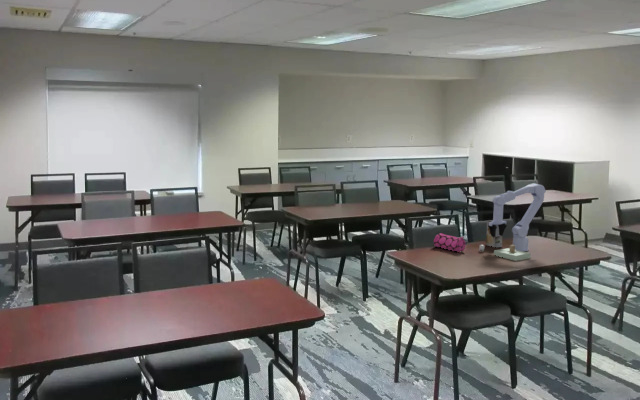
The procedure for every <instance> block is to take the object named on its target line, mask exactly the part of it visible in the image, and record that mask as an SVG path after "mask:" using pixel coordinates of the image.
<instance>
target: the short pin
mask: <svg viewBox="0 0 640 400" xmlns="http://www.w3.org/2000/svg"><path fill="white" fill-rule="evenodd" d="M485 247H486V244H479V249H478V251H484V252H485Z"/></svg>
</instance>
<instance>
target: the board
mask: <svg viewBox="0 0 640 400" xmlns="http://www.w3.org/2000/svg"><path fill="white" fill-rule="evenodd" d="M494 255H496V256H495V257H498V256H499V257H500V258H502V257H503V259H507V260H511V261H523V260H527V259H531V257H532V252H528V251H519V250H515V253H511V252H510V247H507V248H500V249H494V250H493V256H494ZM499 257H498V258H499Z"/></svg>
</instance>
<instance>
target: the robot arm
mask: <svg viewBox="0 0 640 400" xmlns="http://www.w3.org/2000/svg"><path fill="white" fill-rule="evenodd" d="M527 193H530V194H531V195H532V199H533V200H532V202H531V204H530V205H529V206H528V209H527V210H526V212H525V213H524V215H523V216H522V218H521V220H519V221H518V222H517V223H516V224H515V225H514V226H513V227H512V229H511V233H512V234H513V235H512V245H515V250H519V251H524V252H528V251H530V250H529V239H528V237H527V235H528V232H529V229H530V223H531V222H532V221H533V218H534V217H535V216H536V214H537V212H538V211H539V209H540V207H541V206H542V204H543V203H544V200H545V193H546V188H545V186H544V185H543V184H538V183H534V182H533V183H530V184H527V185H526V186H523V187H520V188H519V189H517V190H515V191H513V190H507V191H506V192H504V193H500V194H499V195H495V196H494V197H493V199H492V202H493V212H492V213H493V216H492V217H493V218H492V220H491V221H492V222H489V225H488V227H489V229H490V232H491V236H492V237H495V232H496V228H497V227H496V226H495V225H498V227H499V235H500V236H503V235H504V232H505V230H506V228H507V227H508V225H507V220H503V219H504V205H505V204H506V203H508V202H511V201H513V200H515V199H516V197H518V196H521V195H524V194H527Z"/></svg>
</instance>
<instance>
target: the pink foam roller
mask: <svg viewBox="0 0 640 400" xmlns="http://www.w3.org/2000/svg"><path fill="white" fill-rule="evenodd" d="M467 245H468V241H465V237H464V236H459V237H458V236H453V235H448V234H445V233H442V232H440V233H438V234H436V235H435V236H434V239H433V246H435V247H437V248H439V247H441V248H440V249H443V248H444V250H446V249H448V250H447V251H450V250H452V251H451V252H454V251H457V252H456V253H458V252H460V251H462V252H463V251H464V250H465V249H466V246H467Z"/></svg>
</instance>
